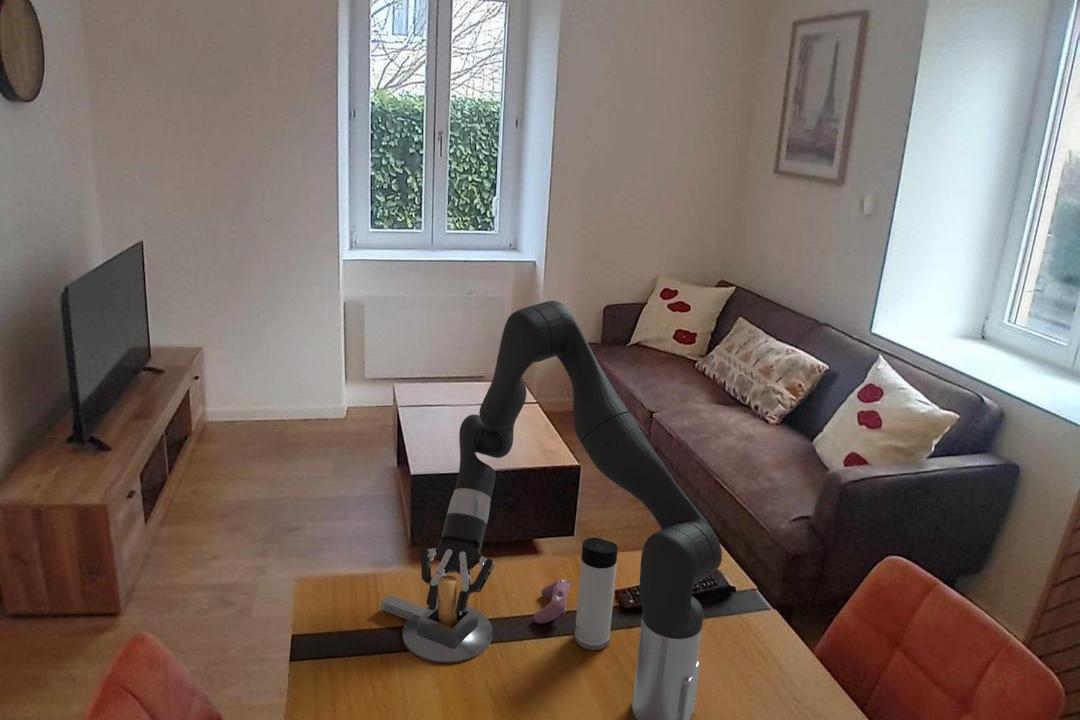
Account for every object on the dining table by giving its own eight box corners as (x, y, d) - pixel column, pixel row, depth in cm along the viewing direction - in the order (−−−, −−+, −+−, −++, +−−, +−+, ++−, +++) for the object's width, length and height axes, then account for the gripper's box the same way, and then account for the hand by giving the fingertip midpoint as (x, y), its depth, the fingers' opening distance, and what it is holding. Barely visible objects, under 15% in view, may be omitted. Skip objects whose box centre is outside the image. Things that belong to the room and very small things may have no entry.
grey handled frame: (508, 625, 151) (509, 606, 150) (461, 675, 138) (462, 655, 136) (410, 588, 160) (410, 571, 159) (357, 632, 147) (357, 613, 146)
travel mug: (567, 644, 147) (575, 545, 141) (583, 625, 153) (591, 529, 146) (599, 656, 144) (609, 556, 138) (614, 636, 150) (624, 539, 144)
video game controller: (551, 634, 152) (570, 608, 150) (530, 621, 152) (549, 595, 150) (559, 604, 161) (577, 578, 159) (539, 591, 161) (557, 566, 159)
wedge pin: (459, 627, 148) (459, 578, 146) (450, 636, 146) (450, 587, 143) (445, 622, 150) (444, 573, 147) (435, 631, 147) (434, 582, 144)
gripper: (425, 505, 150) (400, 600, 142) (501, 517, 147) (480, 614, 139) (434, 518, 156) (411, 609, 149) (507, 529, 154) (487, 623, 146)
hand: (445, 611), depth 144 cm, fingers open, 4 cm apart
